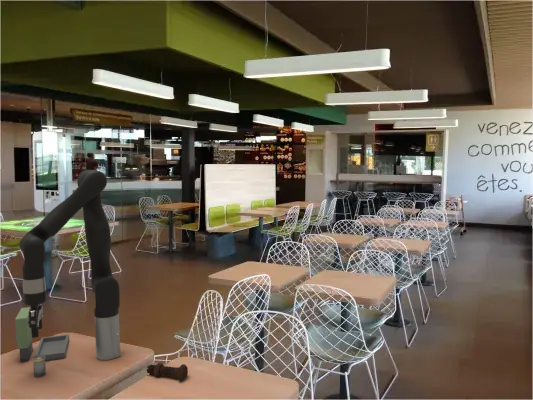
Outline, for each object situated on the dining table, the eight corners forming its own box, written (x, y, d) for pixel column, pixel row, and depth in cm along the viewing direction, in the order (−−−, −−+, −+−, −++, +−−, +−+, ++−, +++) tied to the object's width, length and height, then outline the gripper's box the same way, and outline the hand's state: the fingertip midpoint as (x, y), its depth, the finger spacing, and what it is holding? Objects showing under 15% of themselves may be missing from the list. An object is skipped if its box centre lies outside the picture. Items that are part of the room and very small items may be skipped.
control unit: (36, 348, 194) (33, 306, 193) (31, 362, 181) (28, 317, 180) (23, 349, 193) (20, 308, 191) (17, 364, 180) (14, 319, 178)
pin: (46, 371, 173) (45, 353, 173) (45, 376, 169) (44, 358, 169) (34, 373, 172) (33, 355, 171) (32, 378, 168) (31, 360, 167)
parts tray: (69, 339, 203) (68, 334, 203) (65, 358, 184) (64, 352, 184) (41, 343, 200) (41, 337, 199) (34, 362, 181) (34, 356, 181)
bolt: (150, 377, 172) (186, 382, 167) (143, 376, 168) (179, 381, 163) (153, 361, 174) (189, 365, 169) (146, 359, 170) (183, 363, 165)
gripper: (43, 294, 162) (45, 338, 164) (48, 283, 175) (51, 324, 177) (19, 296, 160) (22, 341, 161) (26, 285, 173) (29, 327, 175)
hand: (37, 332), depth 169 cm, fingers open, 8 cm apart
